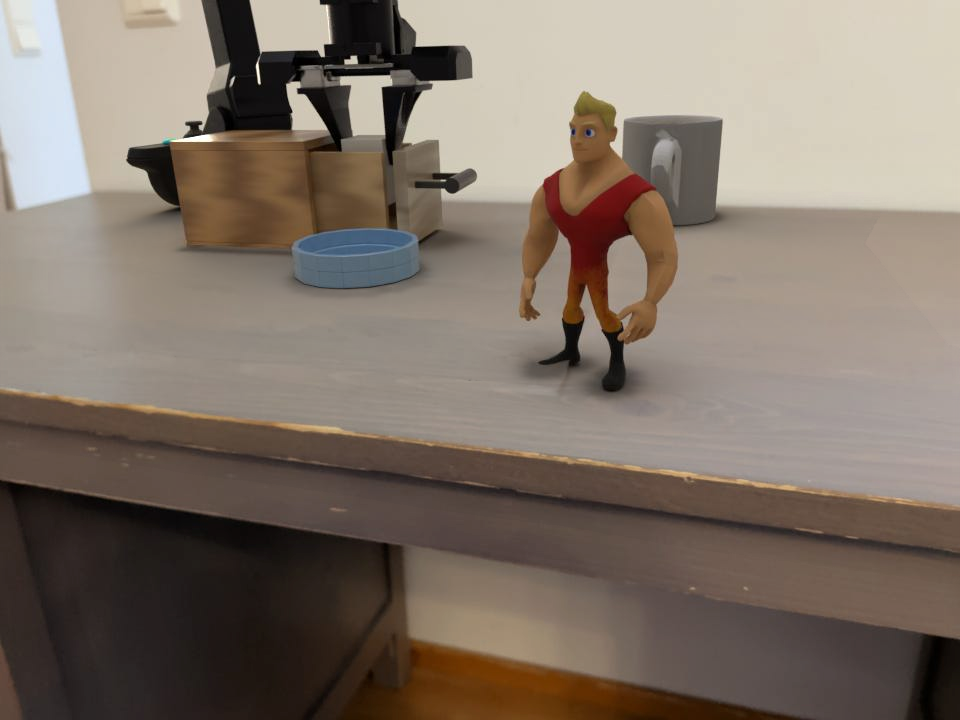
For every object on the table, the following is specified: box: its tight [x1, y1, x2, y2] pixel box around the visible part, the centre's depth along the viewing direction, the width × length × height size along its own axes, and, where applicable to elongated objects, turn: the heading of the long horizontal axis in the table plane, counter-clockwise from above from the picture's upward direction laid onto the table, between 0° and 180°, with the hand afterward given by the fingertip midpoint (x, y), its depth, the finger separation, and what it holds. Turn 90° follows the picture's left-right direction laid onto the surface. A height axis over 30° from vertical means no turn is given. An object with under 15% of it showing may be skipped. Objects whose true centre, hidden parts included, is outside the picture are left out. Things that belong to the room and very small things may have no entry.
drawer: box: [308, 139, 478, 242], centre depth 73 cm, size 17×9×8 cm, turn 75°
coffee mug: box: [621, 114, 724, 226], centre depth 81 cm, size 13×10×10 cm
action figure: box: [518, 90, 679, 391], centre depth 41 cm, size 10×4×15 cm, turn 49°
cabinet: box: [169, 129, 354, 250], centre depth 76 cm, size 14×11×10 cm
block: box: [341, 134, 396, 205], centre depth 73 cm, size 4×4×6 cm
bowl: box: [291, 228, 421, 289], centre depth 63 cm, size 10×10×3 cm
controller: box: [125, 120, 203, 207], centre depth 95 cm, size 4×12×10 cm, turn 151°
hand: (371, 164), depth 73 cm, fingers closed on block, 4 cm apart
